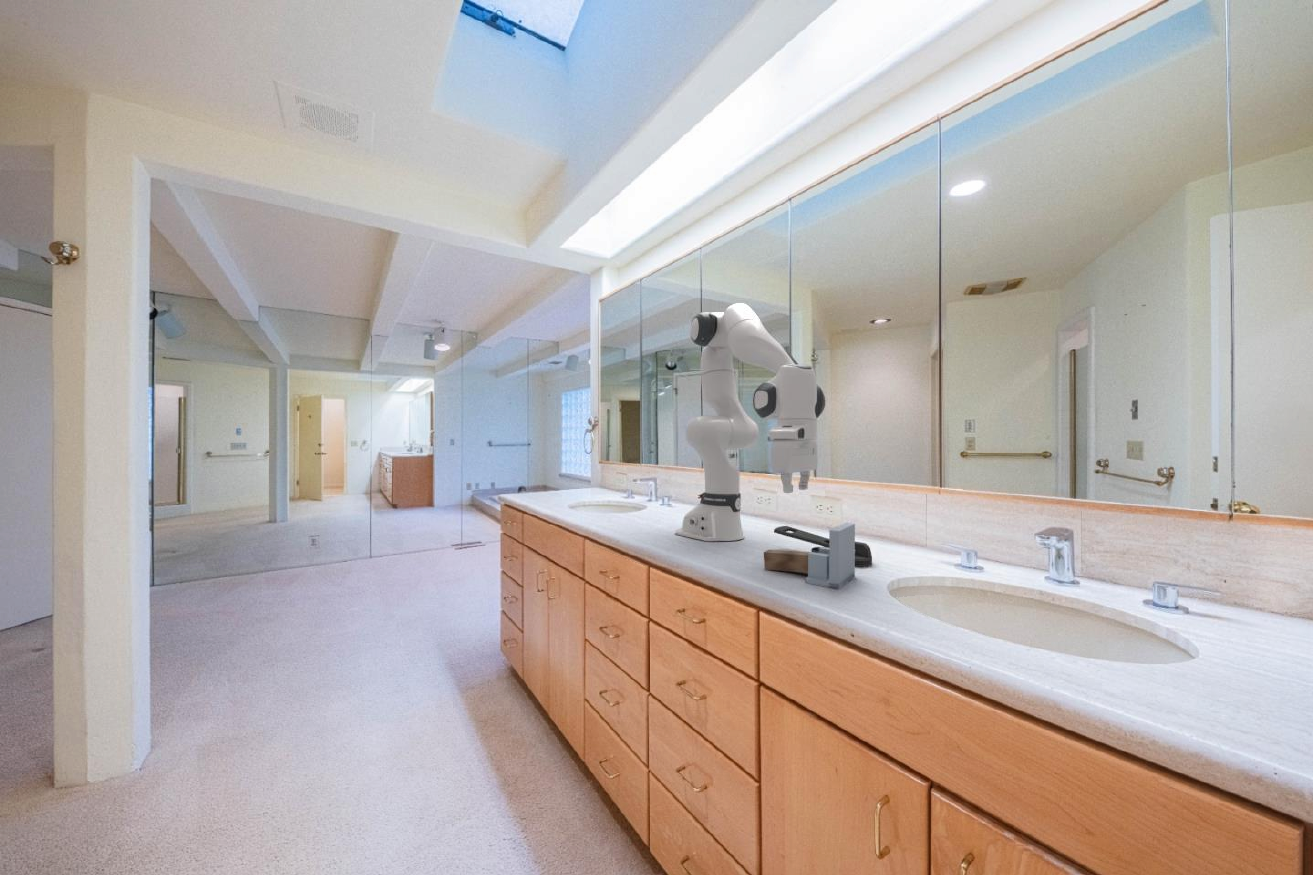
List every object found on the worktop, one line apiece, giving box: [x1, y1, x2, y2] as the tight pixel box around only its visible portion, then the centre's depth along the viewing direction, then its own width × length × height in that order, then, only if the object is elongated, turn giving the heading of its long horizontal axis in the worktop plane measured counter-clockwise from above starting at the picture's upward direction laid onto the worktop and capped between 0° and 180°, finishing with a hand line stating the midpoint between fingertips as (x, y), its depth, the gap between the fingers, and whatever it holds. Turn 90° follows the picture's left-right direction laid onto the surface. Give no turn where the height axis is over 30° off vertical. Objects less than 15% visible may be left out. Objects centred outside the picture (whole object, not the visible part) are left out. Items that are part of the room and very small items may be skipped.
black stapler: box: [773, 525, 873, 569], centre depth 122 cm, size 9×7×25 cm
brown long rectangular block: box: [763, 549, 827, 574], centre depth 107 cm, size 14×4×4 cm, turn 52°
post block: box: [805, 522, 856, 590], centre depth 102 cm, size 7×12×12 cm, turn 142°
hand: (795, 491), depth 107 cm, fingers open, 8 cm apart
